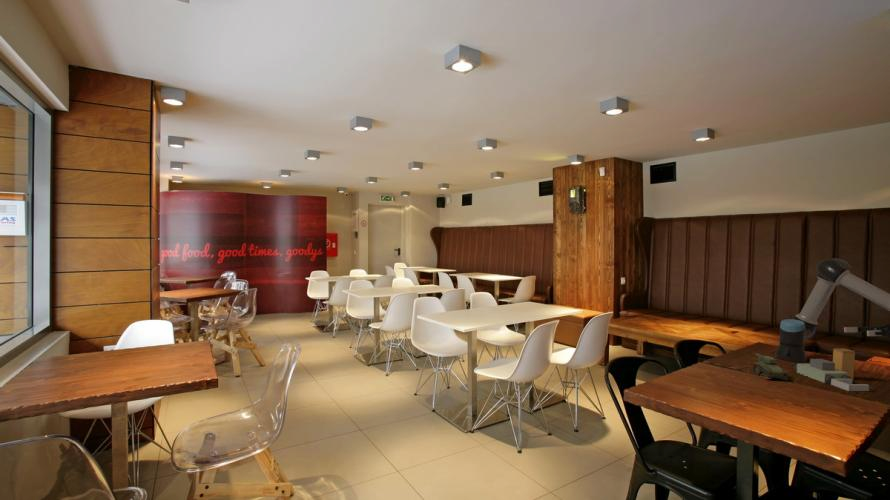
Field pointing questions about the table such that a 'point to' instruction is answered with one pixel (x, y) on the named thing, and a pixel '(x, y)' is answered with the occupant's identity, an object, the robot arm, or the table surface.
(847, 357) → the tan wooden block
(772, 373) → the toy
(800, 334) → the robot arm
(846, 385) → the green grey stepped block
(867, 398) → the table surface
